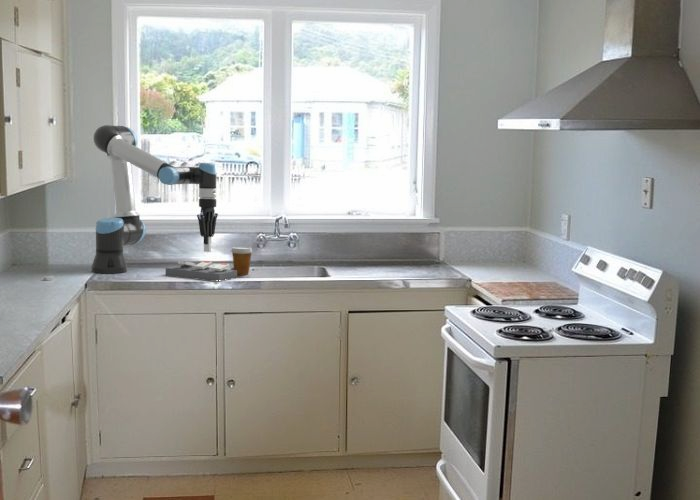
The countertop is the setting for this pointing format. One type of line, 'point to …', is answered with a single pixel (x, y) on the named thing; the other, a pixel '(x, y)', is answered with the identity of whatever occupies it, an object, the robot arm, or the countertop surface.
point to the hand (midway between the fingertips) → (207, 251)
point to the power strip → (200, 273)
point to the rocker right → (220, 267)
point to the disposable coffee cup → (241, 259)
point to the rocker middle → (203, 265)
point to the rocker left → (186, 263)
